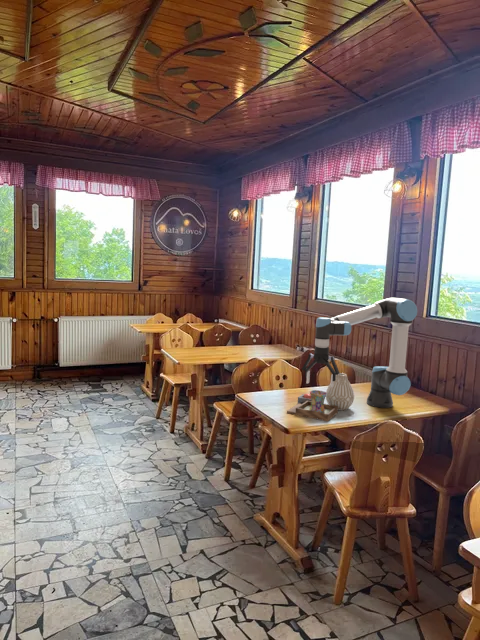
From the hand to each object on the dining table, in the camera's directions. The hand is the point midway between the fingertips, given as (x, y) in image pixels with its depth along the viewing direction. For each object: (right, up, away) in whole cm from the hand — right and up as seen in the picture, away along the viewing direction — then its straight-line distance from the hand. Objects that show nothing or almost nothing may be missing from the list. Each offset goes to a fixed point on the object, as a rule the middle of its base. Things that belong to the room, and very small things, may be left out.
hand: (319, 385), depth 254 cm
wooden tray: (-3, -16, +3) cm, 16 cm away
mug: (-2, -15, +3) cm, 15 cm away
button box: (-4, -14, +20) cm, 25 cm away
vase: (+14, -16, +15) cm, 25 cm away
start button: (-4, -12, +20) cm, 24 cm away
